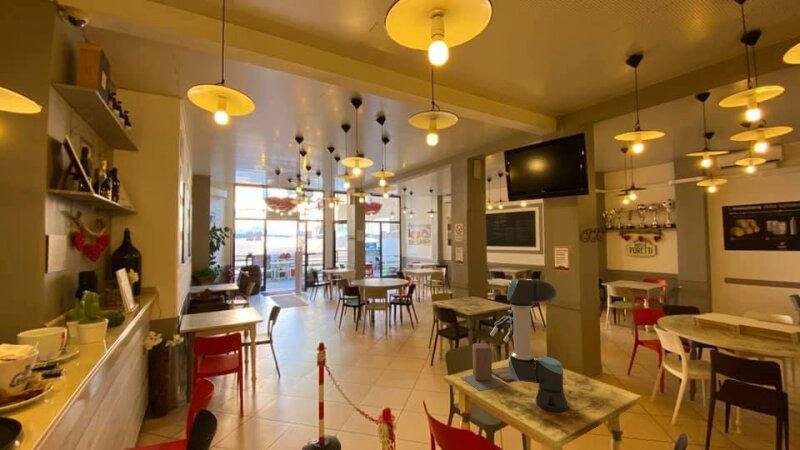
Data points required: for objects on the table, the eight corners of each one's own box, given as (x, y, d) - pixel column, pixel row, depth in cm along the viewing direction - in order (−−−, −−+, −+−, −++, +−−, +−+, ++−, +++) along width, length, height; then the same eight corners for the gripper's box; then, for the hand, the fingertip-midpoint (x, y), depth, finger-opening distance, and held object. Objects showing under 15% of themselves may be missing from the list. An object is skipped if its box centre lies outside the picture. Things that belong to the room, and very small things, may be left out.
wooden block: (492, 381, 204) (491, 348, 205) (475, 381, 204) (475, 347, 205) (488, 374, 214) (487, 342, 215) (472, 374, 214) (472, 342, 215)
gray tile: (507, 385, 199) (507, 384, 199) (479, 391, 192) (479, 390, 192) (486, 372, 218) (486, 372, 218) (460, 377, 210) (460, 377, 210)
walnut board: (526, 377, 209) (526, 375, 210) (505, 381, 203) (505, 379, 204) (509, 368, 224) (509, 366, 224) (489, 372, 218) (489, 369, 218)
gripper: (533, 320, 211) (514, 347, 204) (507, 312, 234) (489, 336, 228) (526, 312, 209) (507, 340, 203) (500, 305, 232) (482, 329, 226)
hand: (497, 338), depth 215 cm, fingers open, 13 cm apart
